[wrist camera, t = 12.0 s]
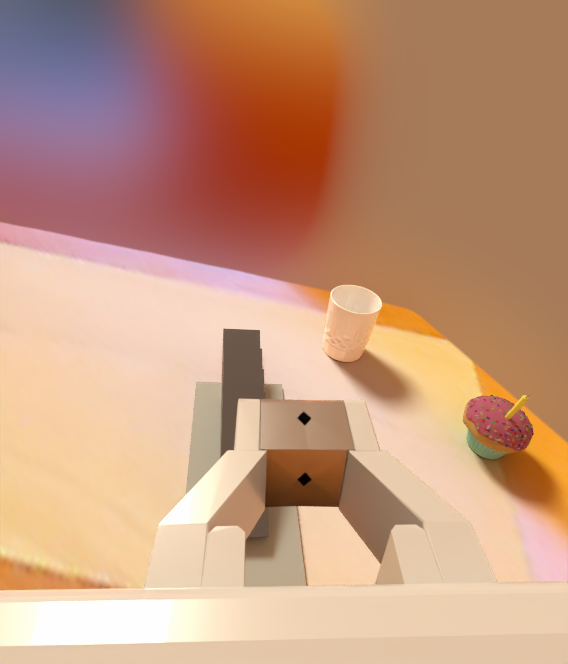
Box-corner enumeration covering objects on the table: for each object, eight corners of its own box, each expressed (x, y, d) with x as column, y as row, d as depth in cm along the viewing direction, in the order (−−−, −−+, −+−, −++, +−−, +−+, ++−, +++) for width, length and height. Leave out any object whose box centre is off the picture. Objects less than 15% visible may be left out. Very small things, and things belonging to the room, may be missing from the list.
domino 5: (217, 537, 42) (222, 417, 47) (217, 538, 43) (221, 421, 49) (268, 536, 43) (267, 417, 48) (266, 537, 44) (265, 421, 50)
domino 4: (218, 500, 45) (223, 391, 50) (218, 502, 46) (222, 395, 52) (266, 499, 46) (265, 392, 51) (264, 501, 47) (263, 396, 53)
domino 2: (220, 438, 51) (223, 347, 56) (220, 441, 52) (223, 352, 58) (262, 439, 52) (261, 348, 57) (261, 442, 53) (260, 353, 59)
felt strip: (175, 609, 38) (175, 606, 38) (196, 384, 60) (196, 381, 60) (307, 602, 40) (308, 600, 40) (281, 387, 62) (281, 384, 62)
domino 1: (221, 413, 54) (223, 328, 59) (220, 417, 55) (223, 333, 61) (260, 414, 55) (259, 330, 60) (259, 417, 56) (258, 335, 62)
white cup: (374, 351, 72) (391, 302, 66) (347, 372, 67) (363, 320, 61) (337, 328, 75) (350, 279, 69) (308, 346, 70) (320, 295, 64)
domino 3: (219, 467, 48) (223, 367, 53) (219, 470, 49) (223, 372, 55) (264, 467, 49) (263, 369, 54) (262, 470, 50) (262, 373, 56)
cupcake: (523, 477, 55) (574, 415, 48) (458, 465, 55) (498, 400, 48) (505, 426, 62) (547, 365, 55) (446, 415, 62) (480, 352, 55)
